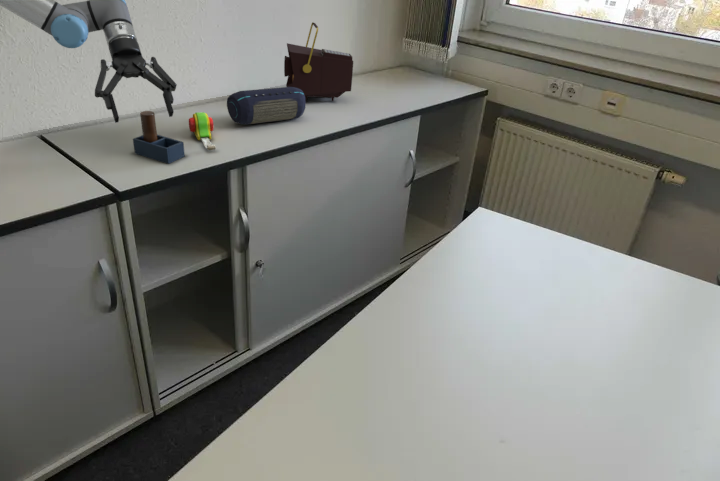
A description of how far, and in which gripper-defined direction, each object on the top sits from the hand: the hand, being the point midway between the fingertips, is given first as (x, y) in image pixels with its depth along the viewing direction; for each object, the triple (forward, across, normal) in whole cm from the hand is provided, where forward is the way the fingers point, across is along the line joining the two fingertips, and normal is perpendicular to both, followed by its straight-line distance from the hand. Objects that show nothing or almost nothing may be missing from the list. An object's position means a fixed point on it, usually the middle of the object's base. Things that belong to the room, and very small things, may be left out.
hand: (145, 117), depth 140 cm
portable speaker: (0, +39, +13) cm, 41 cm away
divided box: (+10, +2, +3) cm, 10 cm away
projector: (-12, +65, +24) cm, 70 cm away
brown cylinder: (+7, 0, +4) cm, 9 cm away
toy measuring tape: (+5, +16, +7) cm, 18 cm away
